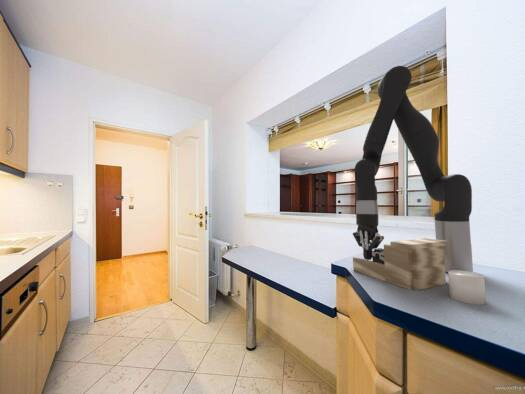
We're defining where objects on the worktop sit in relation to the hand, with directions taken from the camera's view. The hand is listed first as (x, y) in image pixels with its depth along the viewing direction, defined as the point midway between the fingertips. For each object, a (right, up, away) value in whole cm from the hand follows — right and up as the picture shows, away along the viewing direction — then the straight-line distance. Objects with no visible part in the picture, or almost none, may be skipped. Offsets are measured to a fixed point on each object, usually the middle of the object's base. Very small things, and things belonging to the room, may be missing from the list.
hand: (367, 259), depth 81 cm
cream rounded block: (+10, -2, -28) cm, 30 cm away
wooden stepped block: (+5, -3, -10) cm, 11 cm away
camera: (+3, -3, -9) cm, 10 cm away
